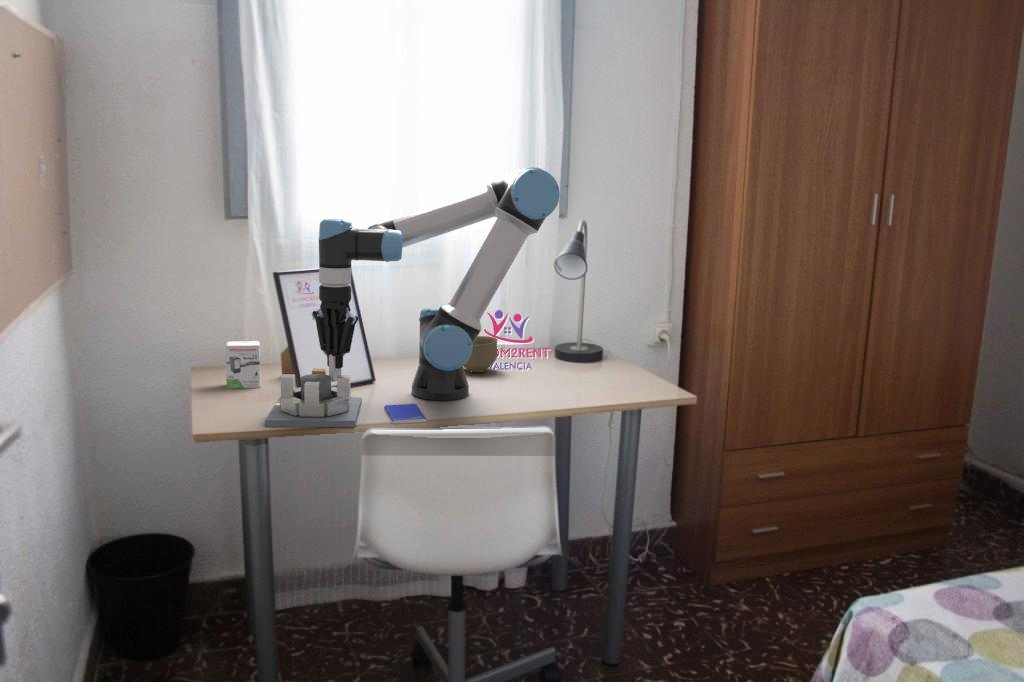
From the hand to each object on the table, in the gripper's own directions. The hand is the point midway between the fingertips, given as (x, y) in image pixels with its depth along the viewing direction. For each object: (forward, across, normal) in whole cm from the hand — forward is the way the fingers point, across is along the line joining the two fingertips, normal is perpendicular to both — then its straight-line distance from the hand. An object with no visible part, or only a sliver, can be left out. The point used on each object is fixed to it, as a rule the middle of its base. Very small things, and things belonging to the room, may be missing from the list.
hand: (335, 380), depth 200 cm
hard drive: (+8, -17, -6) cm, 20 cm away
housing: (+7, 0, +6) cm, 10 cm away
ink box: (+7, +33, 0) cm, 34 cm away
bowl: (+7, -5, -54) cm, 55 cm away
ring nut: (+5, 0, +6) cm, 8 cm away
